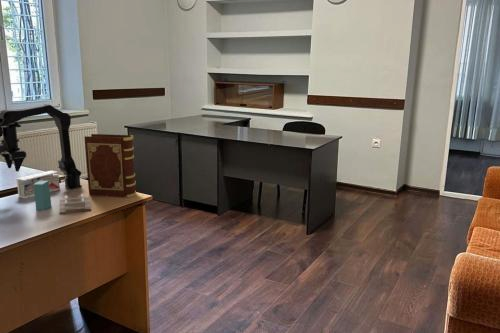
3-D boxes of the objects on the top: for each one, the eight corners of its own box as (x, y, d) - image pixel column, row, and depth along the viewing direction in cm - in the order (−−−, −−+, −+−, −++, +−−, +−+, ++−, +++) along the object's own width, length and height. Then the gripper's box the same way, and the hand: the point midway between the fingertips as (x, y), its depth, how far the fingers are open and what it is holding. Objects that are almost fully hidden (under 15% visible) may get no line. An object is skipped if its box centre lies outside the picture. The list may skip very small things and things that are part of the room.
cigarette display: (25, 198, 202) (23, 180, 199) (18, 196, 204) (16, 178, 202) (61, 188, 218) (60, 171, 216) (55, 187, 221) (53, 169, 219)
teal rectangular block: (42, 205, 192) (39, 180, 189) (51, 205, 192) (48, 180, 189) (36, 210, 186) (33, 184, 183) (45, 210, 186) (42, 184, 183)
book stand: (59, 201, 198) (58, 193, 197) (88, 198, 203) (88, 190, 202) (59, 214, 181) (58, 205, 180) (91, 210, 186) (90, 202, 185)
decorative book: (138, 193, 213) (135, 135, 205) (132, 197, 205) (129, 137, 198) (96, 191, 215) (91, 133, 207) (88, 195, 207) (83, 136, 200)
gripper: (-17, 136, 194) (-13, 169, 197) (-2, 141, 182) (2, 176, 185) (9, 134, 202) (12, 165, 206) (25, 139, 190) (28, 172, 194)
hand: (13, 169), depth 197 cm, fingers open, 9 cm apart
